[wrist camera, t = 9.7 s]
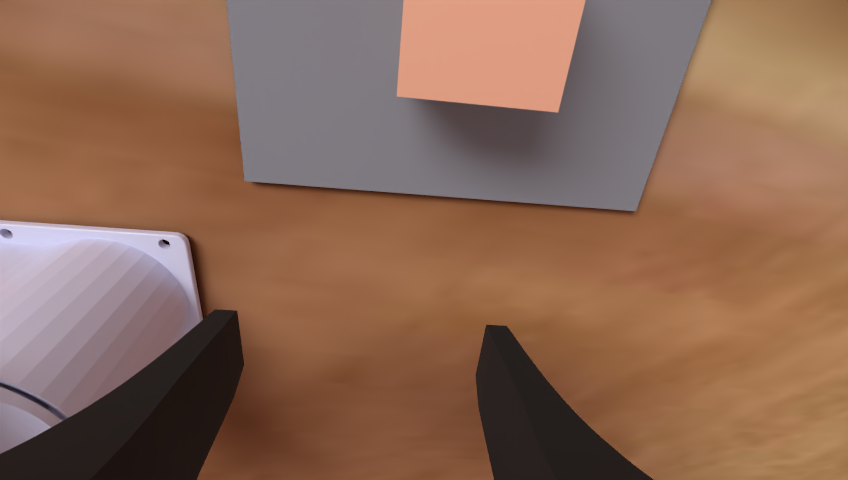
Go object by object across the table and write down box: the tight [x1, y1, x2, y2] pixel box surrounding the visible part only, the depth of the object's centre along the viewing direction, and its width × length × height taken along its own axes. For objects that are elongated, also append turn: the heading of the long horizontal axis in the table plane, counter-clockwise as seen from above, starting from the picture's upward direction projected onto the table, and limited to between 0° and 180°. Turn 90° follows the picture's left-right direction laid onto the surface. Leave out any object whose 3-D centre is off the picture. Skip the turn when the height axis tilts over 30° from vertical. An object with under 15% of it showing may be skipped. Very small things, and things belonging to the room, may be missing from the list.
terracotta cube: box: [397, 0, 586, 112], centre depth 15 cm, size 5×5×5 cm
